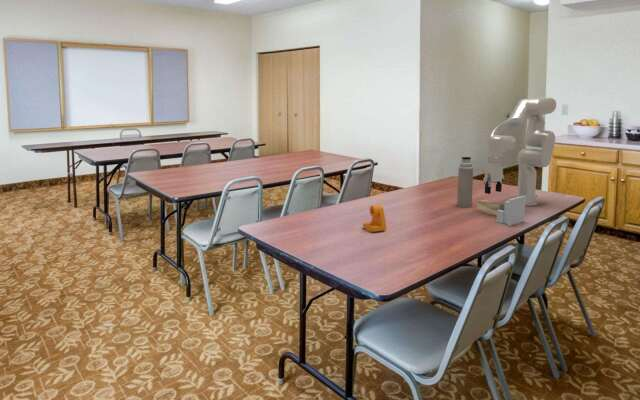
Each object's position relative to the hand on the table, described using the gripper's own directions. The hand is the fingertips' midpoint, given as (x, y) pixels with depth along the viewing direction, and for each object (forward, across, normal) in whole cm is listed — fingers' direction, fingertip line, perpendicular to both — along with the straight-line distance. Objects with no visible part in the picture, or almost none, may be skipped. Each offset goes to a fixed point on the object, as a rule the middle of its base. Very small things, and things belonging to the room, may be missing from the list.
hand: (492, 192), depth 265 cm
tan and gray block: (+12, -1, 0) cm, 12 cm away
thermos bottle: (+12, -5, -21) cm, 25 cm away
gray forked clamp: (+12, +8, +15) cm, 21 cm away
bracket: (+14, +68, -19) cm, 72 cm away
